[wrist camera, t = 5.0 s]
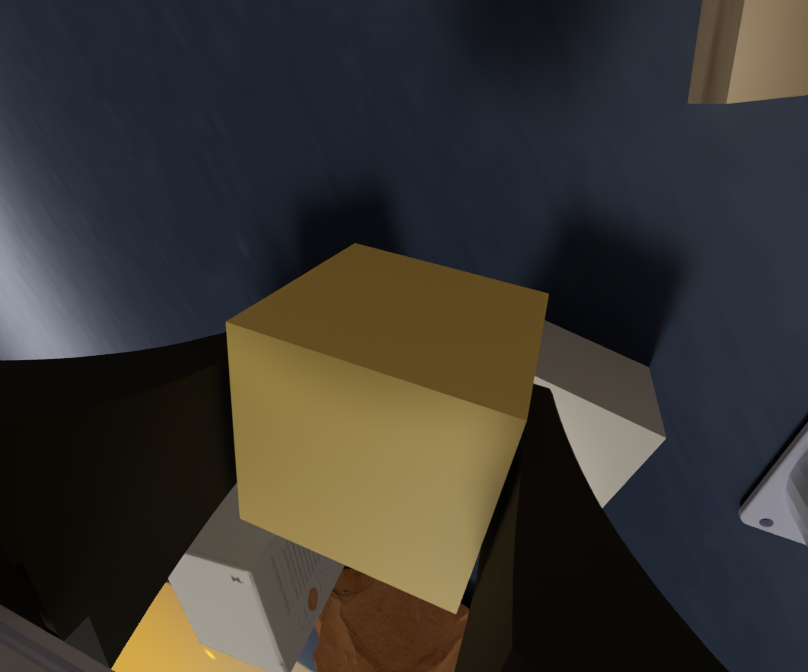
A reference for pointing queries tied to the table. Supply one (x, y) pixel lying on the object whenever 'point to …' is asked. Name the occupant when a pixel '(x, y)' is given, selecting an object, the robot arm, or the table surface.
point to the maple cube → (750, 51)
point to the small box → (252, 589)
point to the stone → (385, 629)
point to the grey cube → (600, 407)
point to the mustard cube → (383, 413)
